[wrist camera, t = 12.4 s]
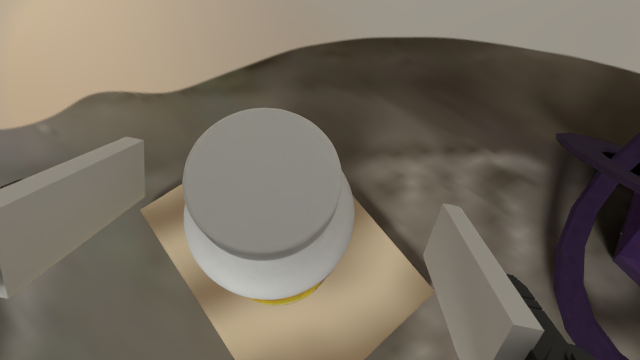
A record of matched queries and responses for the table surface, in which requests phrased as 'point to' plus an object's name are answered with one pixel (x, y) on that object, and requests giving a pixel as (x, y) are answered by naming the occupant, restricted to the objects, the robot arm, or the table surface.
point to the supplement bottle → (266, 205)
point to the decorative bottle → (632, 249)
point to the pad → (315, 310)
